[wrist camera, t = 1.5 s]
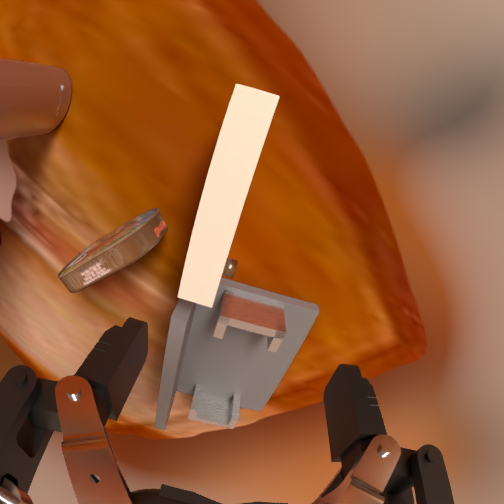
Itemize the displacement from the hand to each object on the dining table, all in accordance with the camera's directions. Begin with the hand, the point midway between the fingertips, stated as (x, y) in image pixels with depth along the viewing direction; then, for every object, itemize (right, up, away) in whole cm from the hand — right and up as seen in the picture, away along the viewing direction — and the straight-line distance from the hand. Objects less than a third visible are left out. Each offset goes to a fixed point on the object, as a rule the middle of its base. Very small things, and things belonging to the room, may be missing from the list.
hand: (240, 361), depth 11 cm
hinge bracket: (-2, -9, +27) cm, 29 cm away
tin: (-15, +6, +21) cm, 27 cm away
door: (-1, +12, +18) cm, 22 cm away
